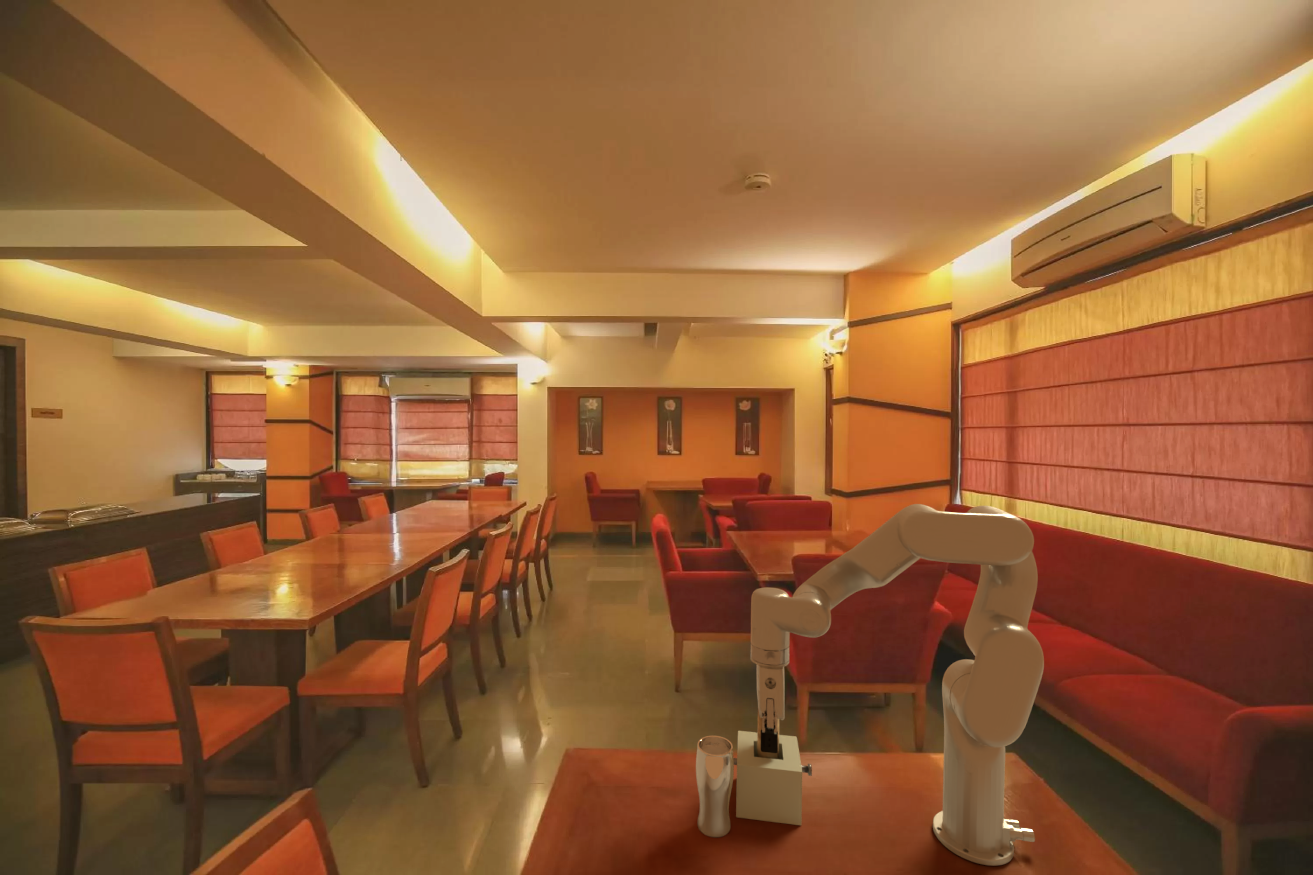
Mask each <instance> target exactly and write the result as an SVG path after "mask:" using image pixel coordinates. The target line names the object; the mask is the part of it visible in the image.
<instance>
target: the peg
mask: <svg viewBox="0 0 1313 875" xmlns="http://www.w3.org/2000/svg"><path fill="white" fill-rule="evenodd" d="M764 714H767V712H765V711H764ZM774 715H775V713H774ZM766 722H767V719H765V723H766ZM761 730H762V718H761V717H760V716H759V709H758V708H757V732H756V733H757V757H761V758H771V759H779V735H780V719H778V717H777V731H778V752H777V753H768V752H762V751H761Z"/></svg>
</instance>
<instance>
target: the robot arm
mask: <svg viewBox="0 0 1313 875" xmlns="http://www.w3.org/2000/svg"><path fill="white" fill-rule="evenodd" d="M1034 544H1035V536H1034V534H1033V531H1032V529H1031V528H1030V527H1029V525H1028V524H1027V522H1025V521H1024V520H1023V519H1022V518H1020V517H1018V516H1016V515H1015V514H1011V513H1009V512H1006V511H1005V510H1002V509H1000V508H998V507H996V506H995V507H994V506H990V505H978V506H974V507H972V508H970V509H969V510H967V512H954V511H953V512H951V511H941V510H937V509H935V508H934V507H931V506H928V505H925V504H923V503H922V504H921V503H913V504H910V505H908V506H905V507H903V508H902V509H901V510H900V511H898V512H896V514H894V515H893V516H891V517H890V518H889V519H888V520H887V521H885V522H884V523H883V524H881V525H880V526H879V527H878V528H876V529H875V530H874V531H873V532H872V533H871V534H869V535H868V536H867V537H865V538H863V540H861V542H858V543H857V544H856V545H855V546H854V547H852V548H851V549H850V550H848V551H846V552H845V553H843V554H841V555H840V556H839V557H836V558H835V559H833V560H832V561H830V562H828V564H826V565H824V566H823V567H822V568H820V569H819V570H817V571H816V573H813V574H812V576H810V577H809V578H807V580H805V581H804V582H802V584H801V585H799V587H797V589H796V590H795V591H794V592H793V594H792V596H790V595H789V594H788V592H786V591H785V590H783V589H781V588H778V587H767V586H766V587H765V586H764V587H761V588H756V589H755V590H754V591H753V592H752V594H751V600H750V601H751V602H750V657H749V658H750V661H751V662H752V663H753V664H755V665H756V698H757V710H758V709H759V716H760V717H761V718H762V730H761V751H762V752H768V753H777V752H778V731H777V717H778V719H779V720H781V721H784V720H785V718H786V716H785V712H786V711H785V696H786V695H785V691H786V690H785V687H786V686H785V680H786V679H785V667H786V666H789V664H790V644H791V643H790V635H791V633H792V634H794V635H797V636H801V637H806V638H819V637H822V636H824V635H825V634H827V632H828V631H829V629H830V627H831V624H832V614H831V612H832V610H833V609H834V608H835V607H836V606H838V605H839V604H840V603H841V602H843V601H844V600H845V599H847V598H848V597H850V596H851V595H853V594H855V593H856V592H860V591H862V590H865V589H872V588H873V589H876V588H881V587H884V586H886V585H887V584H888V583H889V584H890V583H891V581H892V580H894V579H895V578H896V577H898V576H899V575H900V574H902V573H903V572H904V571H906V570H907V569H908V568H910V567H911V566H912V565H913V564H915V563H916V562H917V561H919V560H920V559H922V560H926V561H932V562H934V561H935V562H941V563H942V562H943V563H951V564H952V563H953V564H964V565H965V564H967V565H968V564H969V565H980V575H979V579H978V582H977V583H978V585H977V589H976V591H975V594H974V597H973V601H972V605H971V607H970V610H969V612H968V616H967V619H966V622H965V625H964V628H963V637H964V640H965V643H966V645H967V647H968V648H969V650H970V652H971V653H973V655H974V656H975V657H974V659H967V658H965V659H959V660H956V661H955V662H952V664H950V665H949V666H948V667H947V669H946V670H945V671H944V673H943V677H942V682H941V684H942V685H941V694H942V695H941V696H942V707H943V708H942V709H943V726H944V727H943V779H942V780H943V782H942V810H941V811H939V812H937V813H935V815H934V816H933V818H932V819H933V820H932V828H933V829H932V830H933V833H934V835H935V837H936V838H937V839H938V841H939V842H940V843H941V844H942V845H943V846H944V847H945V848H946V849H948V850H949V851H951V853H953V854H954V855H957V856H959V857H960V858H962V859H965V860H966V861H968V862H972V863H975V864H978V865H979V864H980V865H985V866H990V867H991V866H994V867H995V866H1002V865H1005V864H1008V863H1009V862H1011V861H1012V859H1013V858H1014V855H1015V854H1014V852H1015V851H1014V850H1015V849H1014V843H1015V842H1016V840H1018V841H1019V840H1020V841H1023V842H1031V843H1034V842H1035V841H1036V837H1035V833H1034V831H1033V829H1031V828H1028V827H1020V822H1019V821H1018V820H1017V819H1012V818H1009V819H1008V818H1004V817H1005V814H1004V813H1005V781H1006V780H1005V776H1006V775H1005V774H1006V773H1005V772H1006V771H1005V770H1006V746H1010V745H1011V744H1013V743H1015V742H1016V741H1017V740H1018V739H1019V738H1020V737H1021V735H1022V734H1023V732H1024V729H1025V728H1026V725H1027V723H1028V720H1029V717H1030V715H1031V712H1032V709H1033V705H1034V702H1035V700H1036V696H1037V693H1038V691H1039V687H1040V684H1041V681H1042V679H1043V678H1042V677H1043V674H1044V668H1045V658H1044V651H1043V648H1042V646H1041V643H1040V642H1039V640H1038V639H1037V637H1036V636H1035V635H1034V634H1033V633H1032V632H1031V631H1030V630H1029V629H1028V625H1029V621H1030V617H1031V614H1032V609H1033V605H1034V602H1035V597H1036V594H1037V590H1038V589H1037V588H1038V580H1039V578H1038V577H1039V576H1038V567H1037V563H1036V558H1035V555H1034V552H1033V549H1034ZM764 711H765V712H767V714H764ZM774 713H775V715H774ZM765 719H767V722H766V723H765Z"/></svg>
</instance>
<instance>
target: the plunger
mask: <svg viewBox="0 0 1313 875" xmlns="http://www.w3.org/2000/svg"><path fill="white" fill-rule="evenodd" d="M801 767H802V774H803V773H804V774H807V776H810V777H811V776H812V774H813V773H812V772H813V767H812V763H807V765H802V764H801Z"/></svg>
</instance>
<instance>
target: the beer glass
mask: <svg viewBox="0 0 1313 875" xmlns="http://www.w3.org/2000/svg"><path fill="white" fill-rule="evenodd" d="M696 745H697V746H696V748H697V749H696V756H695V757H696V758H695V776H696V778H695V779H696V784H697V791H698V798H699V813H698V816H697V823H696V824H697V827H698V830H699V831H700V832H701V833H702V834H704V835H705V836H707V837H710V838H722V837H724V836H727V835H728V833H729V832H730V831H731V819H730V813H729V811H730V810H729V806H730V799H731V795H732V794H731V793H732V790H733V789H732V788H733V784H734V783H733V782H734V773H735V772H734V769H735V765H734V759H733V758H734V746H733V745H734V744H733V743H732V742H731V741H730V740H729V739H728V738H727V737H724V736H720V735H707V736H703V737H701V738H700V739H699V740H698V741H697V744H696Z"/></svg>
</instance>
